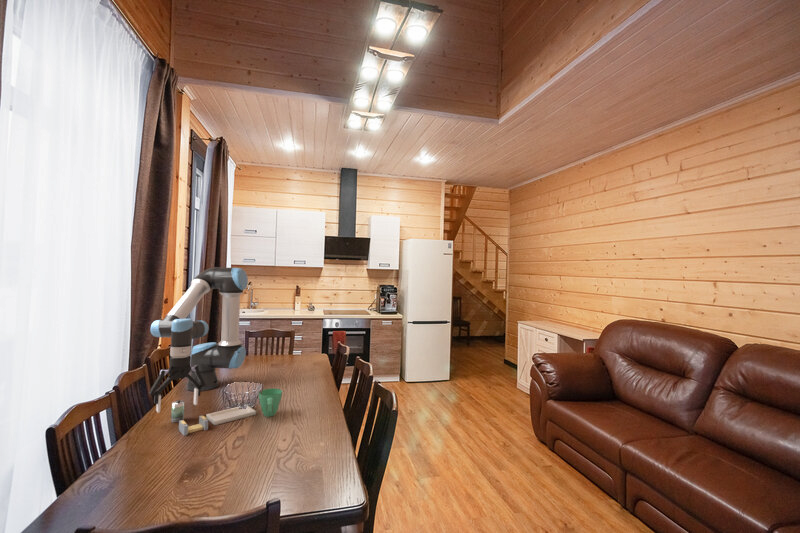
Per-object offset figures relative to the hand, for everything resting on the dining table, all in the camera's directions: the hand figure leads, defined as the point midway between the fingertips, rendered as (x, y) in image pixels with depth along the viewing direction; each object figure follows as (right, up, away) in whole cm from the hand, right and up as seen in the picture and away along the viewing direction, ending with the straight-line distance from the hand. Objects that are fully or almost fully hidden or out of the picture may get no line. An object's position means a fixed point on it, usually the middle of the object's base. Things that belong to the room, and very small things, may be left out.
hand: (177, 407), depth 149 cm
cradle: (+11, -6, -8) cm, 15 cm away
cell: (0, -5, 0) cm, 5 cm away
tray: (+20, -6, +6) cm, 21 cm away
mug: (+36, -7, +7) cm, 37 cm away
